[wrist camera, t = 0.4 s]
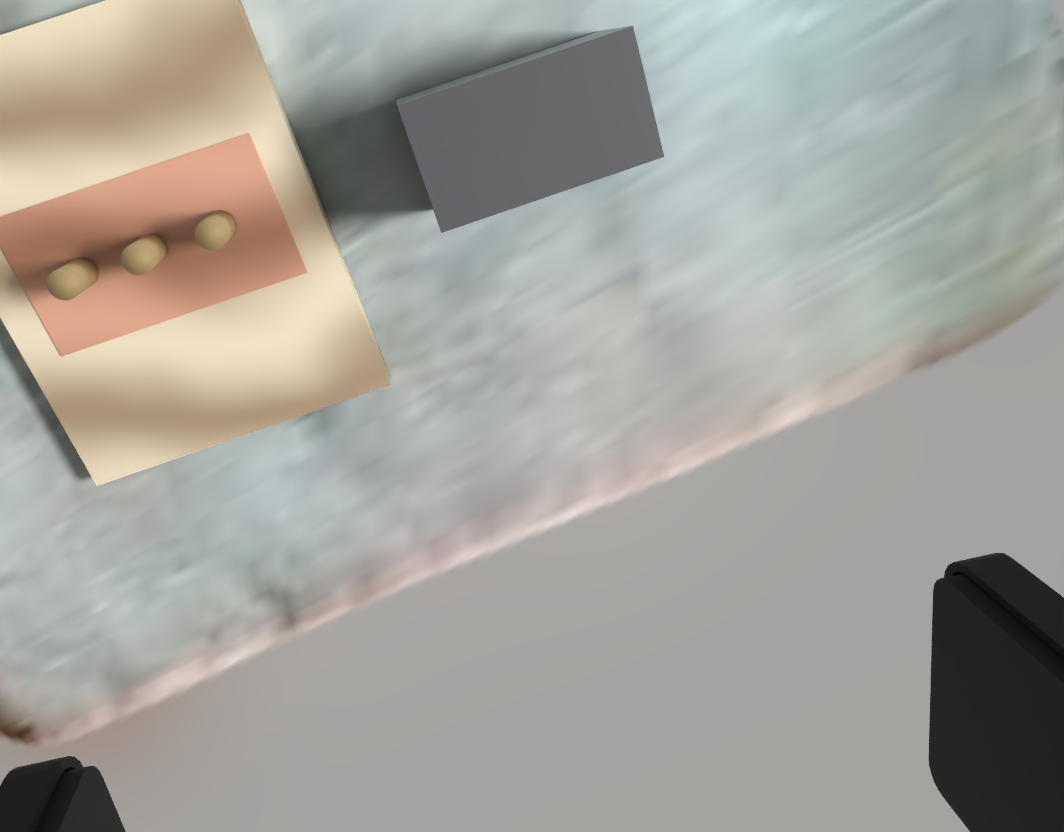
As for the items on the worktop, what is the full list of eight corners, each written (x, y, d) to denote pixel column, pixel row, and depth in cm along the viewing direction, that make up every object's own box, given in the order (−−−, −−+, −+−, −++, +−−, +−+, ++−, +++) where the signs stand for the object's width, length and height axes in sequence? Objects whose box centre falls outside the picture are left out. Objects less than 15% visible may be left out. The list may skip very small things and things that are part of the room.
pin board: (-120, 79, 34) (-177, 81, 31) (226, -35, 35) (208, -46, 31) (104, 474, 42) (78, 512, 38) (390, 376, 42) (390, 404, 38)
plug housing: (395, 99, 38) (396, 105, 32) (596, 31, 38) (632, 25, 32) (433, 209, 39) (441, 232, 34) (625, 143, 40) (664, 156, 34)
